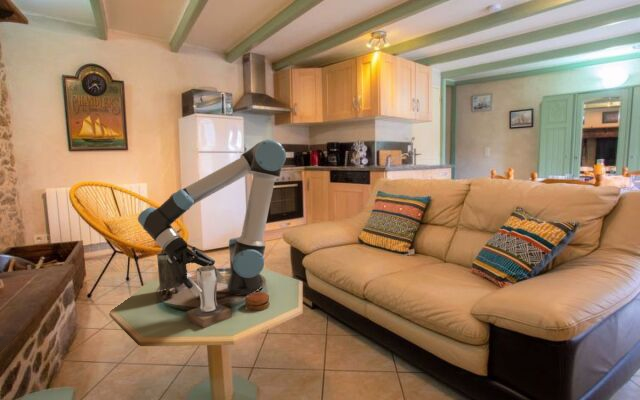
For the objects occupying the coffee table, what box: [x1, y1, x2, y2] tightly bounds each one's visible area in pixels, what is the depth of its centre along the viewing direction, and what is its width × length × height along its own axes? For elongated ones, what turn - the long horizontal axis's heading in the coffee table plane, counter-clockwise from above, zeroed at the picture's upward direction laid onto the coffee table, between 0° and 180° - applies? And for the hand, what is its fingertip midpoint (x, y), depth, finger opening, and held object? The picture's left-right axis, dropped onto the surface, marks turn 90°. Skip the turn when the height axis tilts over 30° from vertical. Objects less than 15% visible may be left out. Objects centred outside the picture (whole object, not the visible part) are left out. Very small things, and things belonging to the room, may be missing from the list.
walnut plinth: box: [186, 302, 232, 329], centre depth 129 cm, size 11×11×3 cm
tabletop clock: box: [156, 248, 184, 299], centre depth 153 cm, size 14×9×25 cm, turn 25°
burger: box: [244, 291, 270, 311], centre depth 139 cm, size 10×9×5 cm
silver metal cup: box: [196, 265, 218, 313], centre depth 128 cm, size 7×7×15 cm
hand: (211, 286), depth 127 cm, fingers open, 13 cm apart
